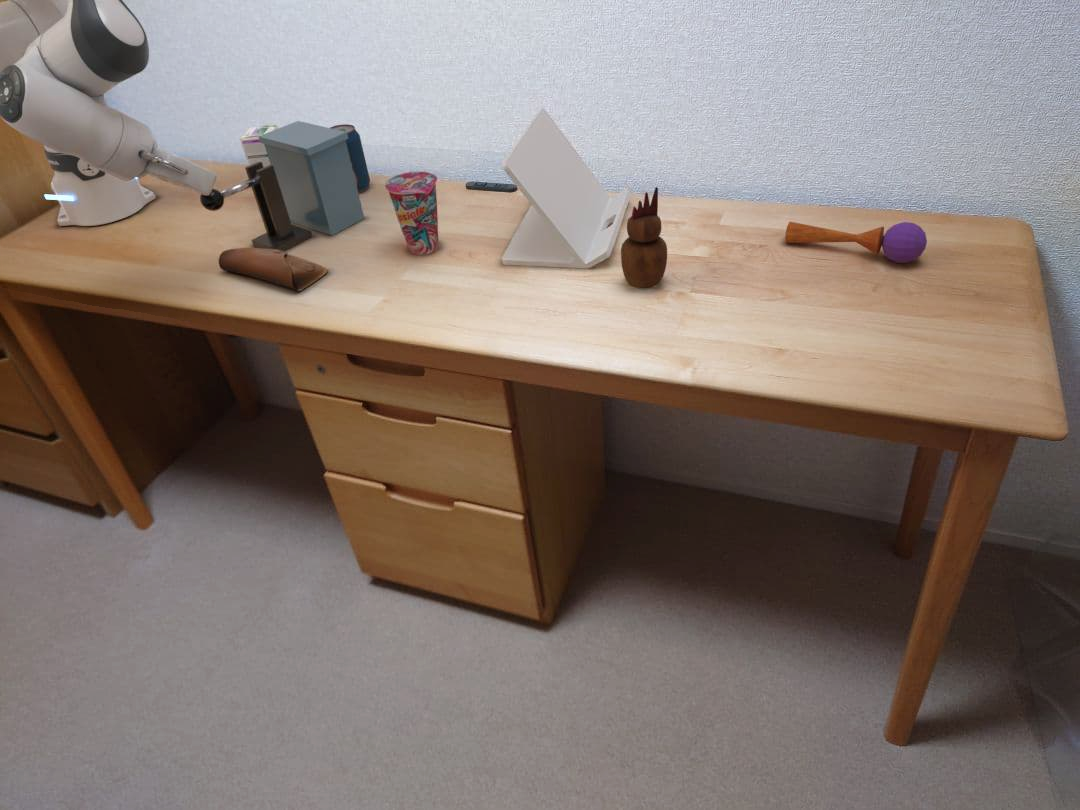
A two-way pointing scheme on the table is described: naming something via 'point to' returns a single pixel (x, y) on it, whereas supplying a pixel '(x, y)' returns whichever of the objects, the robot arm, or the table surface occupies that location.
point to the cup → (416, 209)
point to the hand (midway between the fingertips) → (206, 187)
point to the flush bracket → (274, 212)
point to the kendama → (868, 239)
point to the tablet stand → (560, 202)
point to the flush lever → (225, 194)
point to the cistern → (314, 176)
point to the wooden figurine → (644, 246)
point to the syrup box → (256, 145)
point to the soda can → (356, 156)
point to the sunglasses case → (272, 266)
